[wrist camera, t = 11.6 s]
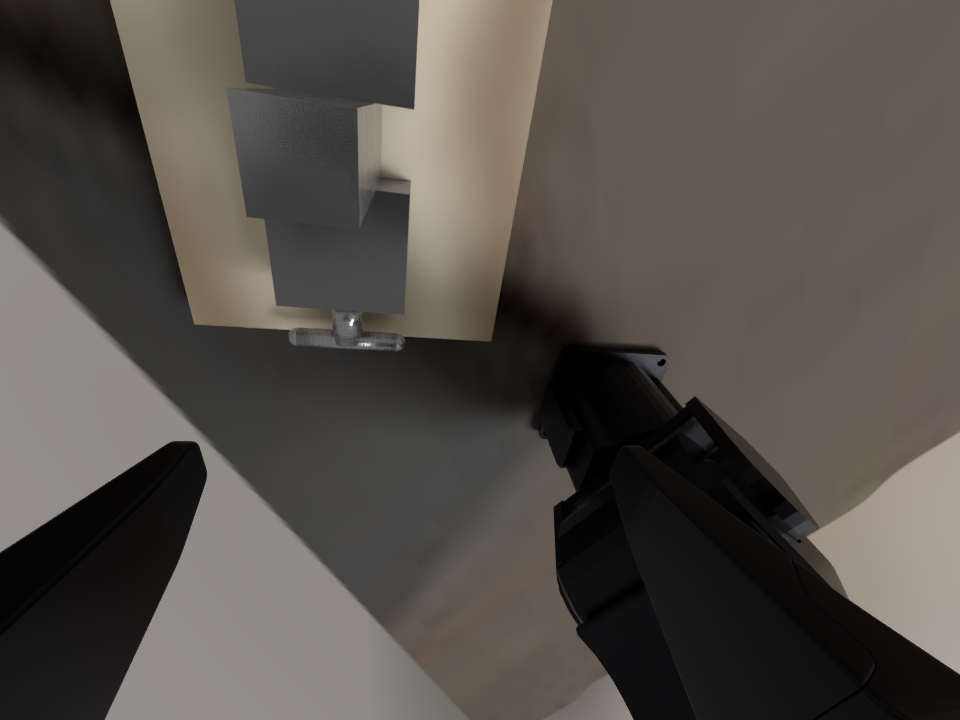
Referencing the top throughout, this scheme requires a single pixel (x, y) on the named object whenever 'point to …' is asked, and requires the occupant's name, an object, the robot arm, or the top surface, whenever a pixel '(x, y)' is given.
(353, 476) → the top surface
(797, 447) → the top surface
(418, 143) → the board
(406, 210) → the bench vise
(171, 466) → the robot arm
